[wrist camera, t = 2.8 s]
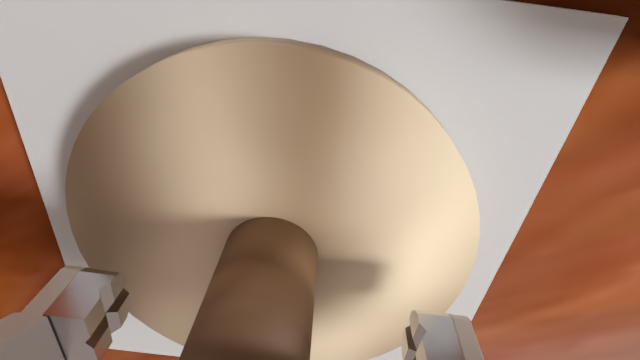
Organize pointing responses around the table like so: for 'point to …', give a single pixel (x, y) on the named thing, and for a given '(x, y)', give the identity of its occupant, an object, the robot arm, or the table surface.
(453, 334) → the robot arm
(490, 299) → the table surface
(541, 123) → the mat
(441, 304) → the lid
